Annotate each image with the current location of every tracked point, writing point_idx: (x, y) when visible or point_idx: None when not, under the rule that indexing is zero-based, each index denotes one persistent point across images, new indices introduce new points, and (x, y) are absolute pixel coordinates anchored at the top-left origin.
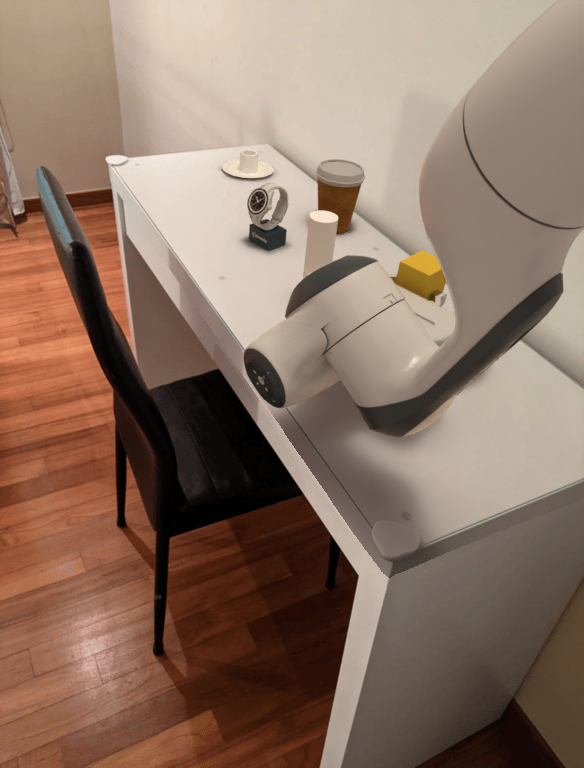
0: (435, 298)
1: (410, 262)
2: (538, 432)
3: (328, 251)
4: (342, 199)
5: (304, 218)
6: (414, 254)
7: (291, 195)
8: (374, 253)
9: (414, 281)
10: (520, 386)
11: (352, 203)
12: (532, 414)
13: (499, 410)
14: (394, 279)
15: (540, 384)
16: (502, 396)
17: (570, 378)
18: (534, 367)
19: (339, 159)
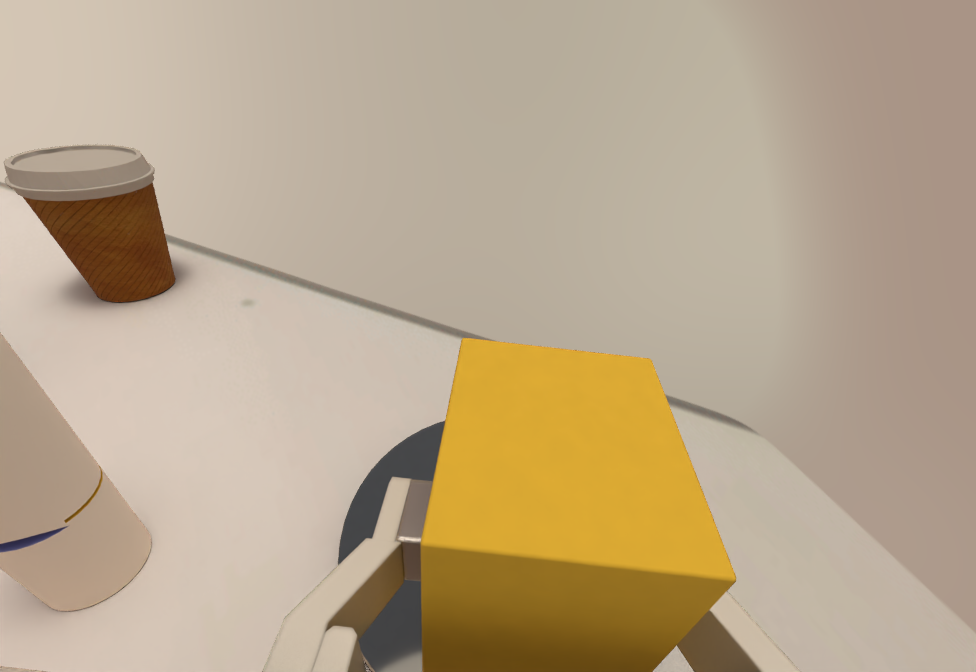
0: (712, 612)
1: (496, 498)
2: (911, 664)
3: (7, 439)
4: (116, 226)
5: (58, 289)
6: (456, 392)
7: (22, 250)
8: (248, 313)
9: (582, 613)
10: (725, 513)
11: (151, 229)
12: (831, 597)
13: (792, 651)
14: (391, 566)
15: (736, 478)
16: (742, 582)
17: (741, 427)
18: (684, 437)
19: (73, 145)
